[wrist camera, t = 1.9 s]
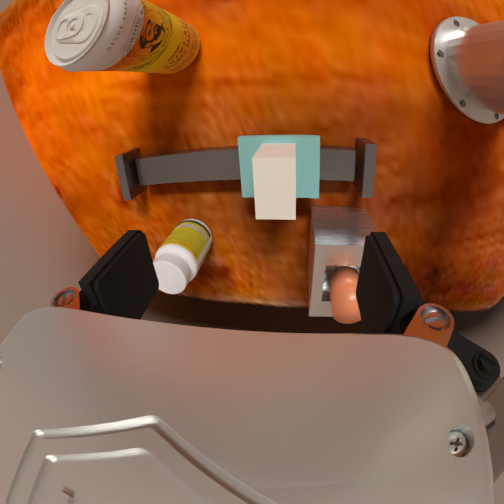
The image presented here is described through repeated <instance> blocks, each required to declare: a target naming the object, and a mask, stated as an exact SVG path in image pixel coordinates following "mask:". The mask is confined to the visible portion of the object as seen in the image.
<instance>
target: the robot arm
mask: <svg viewBox="0 0 504 504" xmlns="http://www.w3.org/2000/svg"><path fill="white" fill-rule="evenodd" d="M437 54H438V55H437ZM430 56H431V61H432V66H433V69H434V72H435V75H436V78H437V80H438V82H439V84H440V86H441V88H442V90H443V92H444V93H445V95H446V97H447V98H448V99H449V100H450V102H451V103H452V104H453V106H454V107H456V108H457V109H458V110H459V111H460V112H461V113H462V114H463V115H465V116H466V117H468V118H470V119H472V120H474V121H476V122H480V123H485V124H492V123H497V122H498V121H500V120H502V119H503V118H504V20H501V21H495V22H490V23H485V24H481V25H480V24H478V23H476V22H475V21H473V20H470V19H468V18H465V17H458V16H457V17H450V18H447V19H445V20H443V21H441V22H440V23H438V25H437V26H436V27H435V29H434V31H433V33H432V36H431V42H430ZM79 285H80V287H81V289H82V290H81V291H80V292H79V290H78V289H77V288H74V287H69V288H66V289H63V290H61V291H59V292H58V293H57V294H56V295H55V296H54V297H53V298H52V300H51V303H50V307H46V308H40V309H36V310H34V311H31V312H29V313H27V314H26V315H25V316H24V317H23V318H22V319H21V320H20V321H19V322H18V323H17V324H16V326H15V327H14V328H13V329H12V330H11V332H10V333H9V334H8V335H7V337H6V338H5V339H4V341H3V342H2V344H1V345H0V504H494V485H493V484H494V482H495V481H496V480H497V479H498V477H499V476H500V475H501V473H502V472H503V471H504V377H503V378H501V377H500V376H499V375H500V366H499V363H498V361H497V359H496V358H495V357H494V356H493V355H492V354H491V353H489V352H488V351H486V350H485V349H483V348H481V347H480V346H478V345H477V344H475V343H473V342H472V341H470V340H468V339H467V338H465V337H463V336H462V335H460V334H458V333H456V332H455V331H453V328H454V318H453V316H452V315H451V313H450V312H449V311H448V310H447V309H446V308H444V307H442V306H440V305H438V304H433V303H427V304H425V303H424V301H423V299H422V297H421V295H420V293H419V291H418V289H417V287H416V285H415V283H414V281H413V279H412V277H411V275H410V273H409V271H408V269H407V268H406V266H405V265H404V264H403V263H402V261H401V259H400V257H399V255H398V254H397V252H396V250H395V248H394V247H393V245H392V243H391V241H390V240H389V238H388V236H387V235H386V233H385V232H371V233H370V235H366V238H365V243H364V249H363V255H362V261H361V266H360V272H359V277H358V282H357V287H356V299H357V303H358V307H359V311H360V316H361V320H362V325H363V329H364V334H349V333H348V334H311V333H309V334H308V333H277V332H257V331H240V330H226V329H215V328H214V329H213V328H203V327H194V326H185V325H176V324H167V323H159V322H152V321H144V320H140V319H141V317H142V316H143V314H144V312H145V311H146V309H147V307H148V305H149V304H150V302H151V300H152V299H153V297H154V295H155V293H156V292H157V290H158V288H159V281H158V278H157V274H156V271H155V268H154V264H153V261H152V257H151V254H150V250H149V247H148V243H147V239H146V236H145V234H144V233H142V231H140V230H129V231H127V232H126V233H125V234H124V235H123V236H122V237H121V238H120V239H119V240H118V241H117V242H116V243H115V244H114V245H113V246H112V247H111V248H110V249H109V250H108V251H107V252H106V253H105V254H104V255H103V256H102V257H101V258H100V259H99V260H98V261H97V263H96V264H95V265H94V266H93V267H92V268H91V269H90V270H89V271H88V272H87V273H86V274H85V276H84V277H83V278H82V279H81V280H80V281H79Z"/></svg>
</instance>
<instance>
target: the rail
mask: <svg viewBox="0 0 504 504" xmlns="http://www.w3.org/2000/svg"><path fill="white" fill-rule="evenodd" d="M355 158H356V166H355ZM115 161H116V166H117V171H118V176H119V181H120V185H121V190H122V194H123V198H124V200H132V199H133V198H134V197H136V196H137V195H138V194H140V193H141V192H142V191H144V190H145V189H146V188H147V187H146V185H152V184H164V183H177V182H193V181H212V180H240V179H241V176H240V163H239V150H238V146H226V147H212V148H200V149H189V150H180V151H171V152H163V153H156V154H149V155H144V156H142V157H141V154H140V148H133V149H130V150H128V151H126V152H123V153H121V154H119V155H117V156H115ZM375 161H376V144H375V143H373V142H371V141H370V140H368V139H366V138H357V145H356V150H354V149H353V148H352V147H344V146H325V145H320V179H319V180H337V181H354V176H355V182H354V186H355V187H356V189H357V190H358V192H359V194H360V195H361V197H364V198H372V194H373V184H374V174H375Z"/></svg>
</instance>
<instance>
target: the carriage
mask: <svg viewBox="0 0 504 504" xmlns="http://www.w3.org/2000/svg"><path fill="white" fill-rule="evenodd" d="M238 150H239V163H240V176H241V188H242V197H254V198H255V214H256V219H279V220H296V198H319V179H320V136H319V135H251V136H239V137H238Z"/></svg>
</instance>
